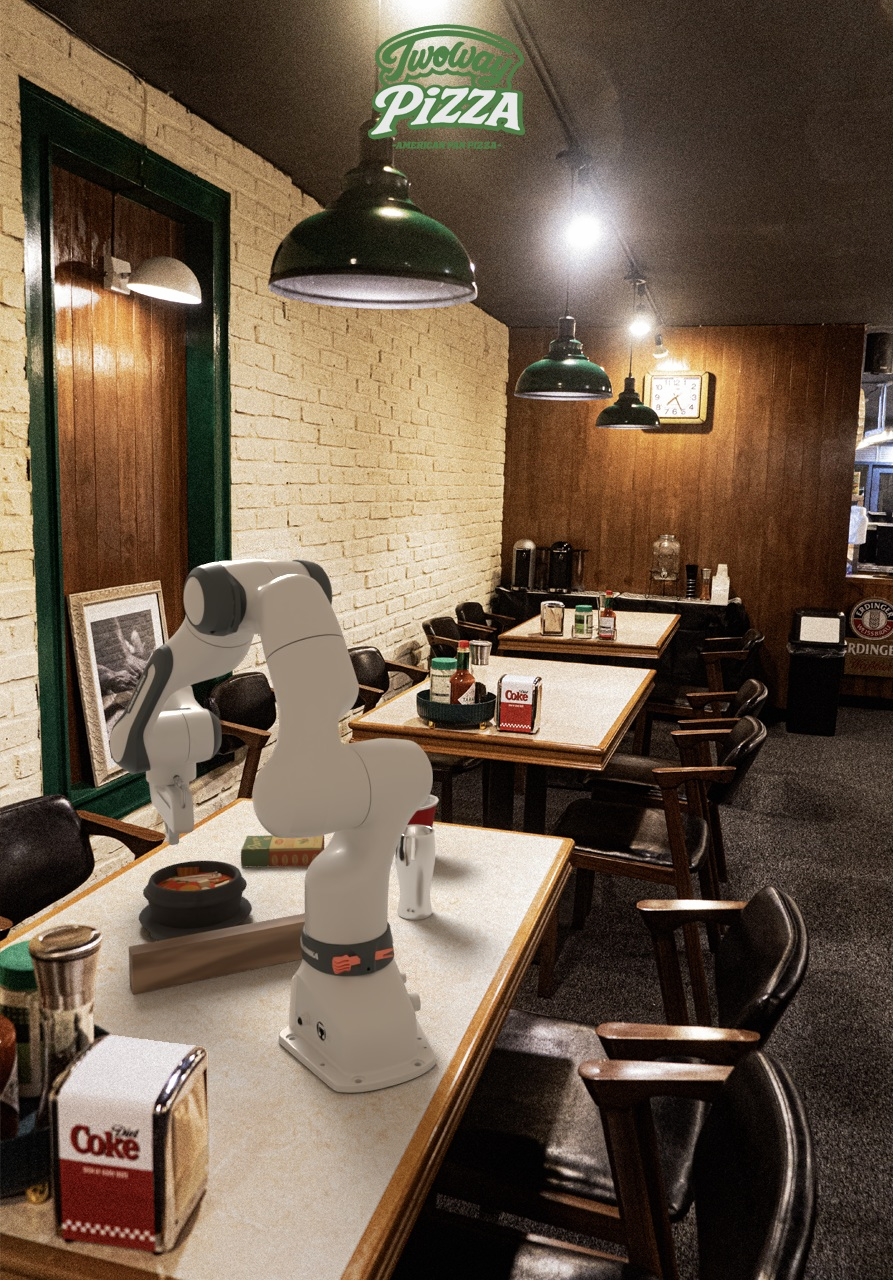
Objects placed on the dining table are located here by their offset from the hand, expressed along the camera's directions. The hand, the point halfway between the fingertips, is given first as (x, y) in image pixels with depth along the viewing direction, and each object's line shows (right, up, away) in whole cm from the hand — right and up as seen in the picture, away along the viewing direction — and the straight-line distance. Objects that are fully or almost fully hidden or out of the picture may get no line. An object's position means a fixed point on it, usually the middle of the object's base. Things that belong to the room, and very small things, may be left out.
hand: (172, 842), depth 177 cm
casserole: (+8, -11, -14) cm, 19 cm away
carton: (+18, -8, +17) cm, 25 cm away
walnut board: (+17, -13, -31) cm, 38 cm away
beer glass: (+45, -11, -9) cm, 47 cm away
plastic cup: (+44, -7, +19) cm, 48 cm away
